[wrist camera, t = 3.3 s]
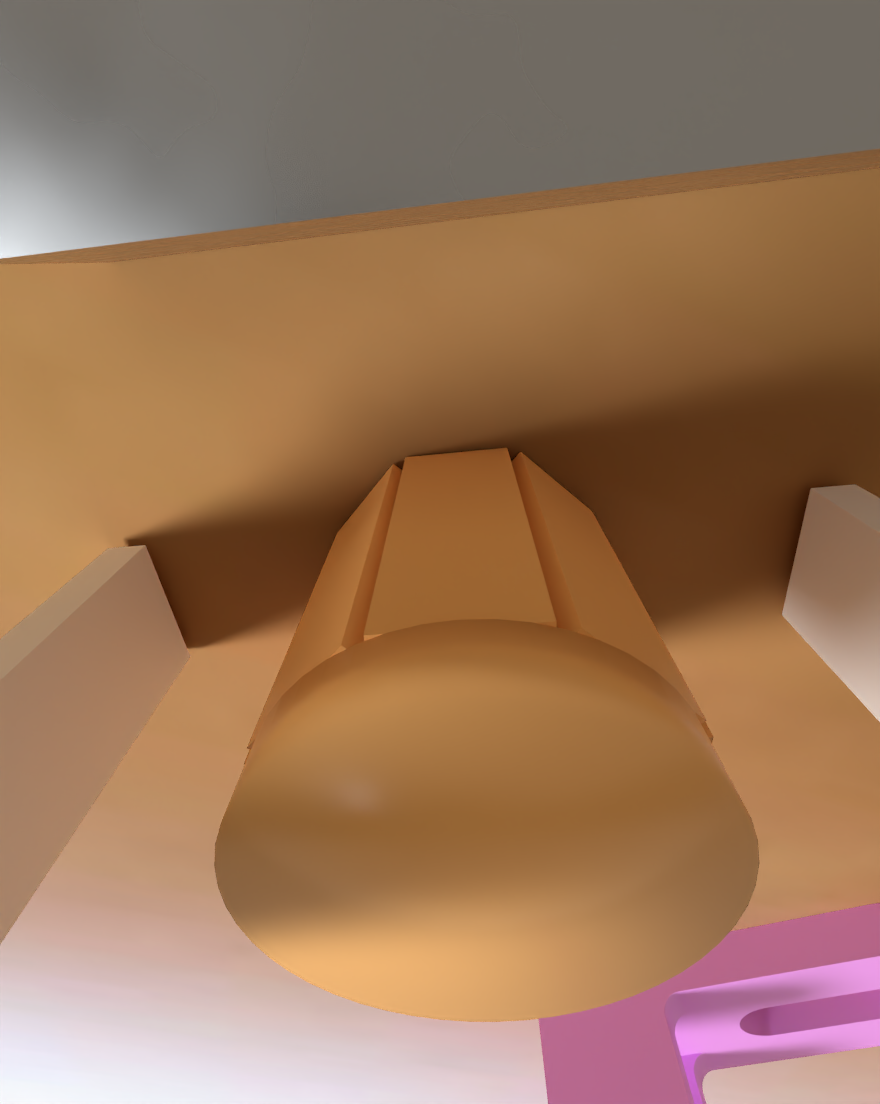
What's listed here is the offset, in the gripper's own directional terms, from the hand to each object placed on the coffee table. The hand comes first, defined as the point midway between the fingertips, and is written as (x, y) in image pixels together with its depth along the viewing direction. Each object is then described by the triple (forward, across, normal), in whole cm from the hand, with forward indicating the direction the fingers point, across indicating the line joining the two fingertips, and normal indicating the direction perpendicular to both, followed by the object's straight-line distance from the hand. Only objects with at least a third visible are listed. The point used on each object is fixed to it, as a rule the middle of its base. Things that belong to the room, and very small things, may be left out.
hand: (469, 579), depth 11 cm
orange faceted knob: (0, 0, 0) cm, 0 cm away
